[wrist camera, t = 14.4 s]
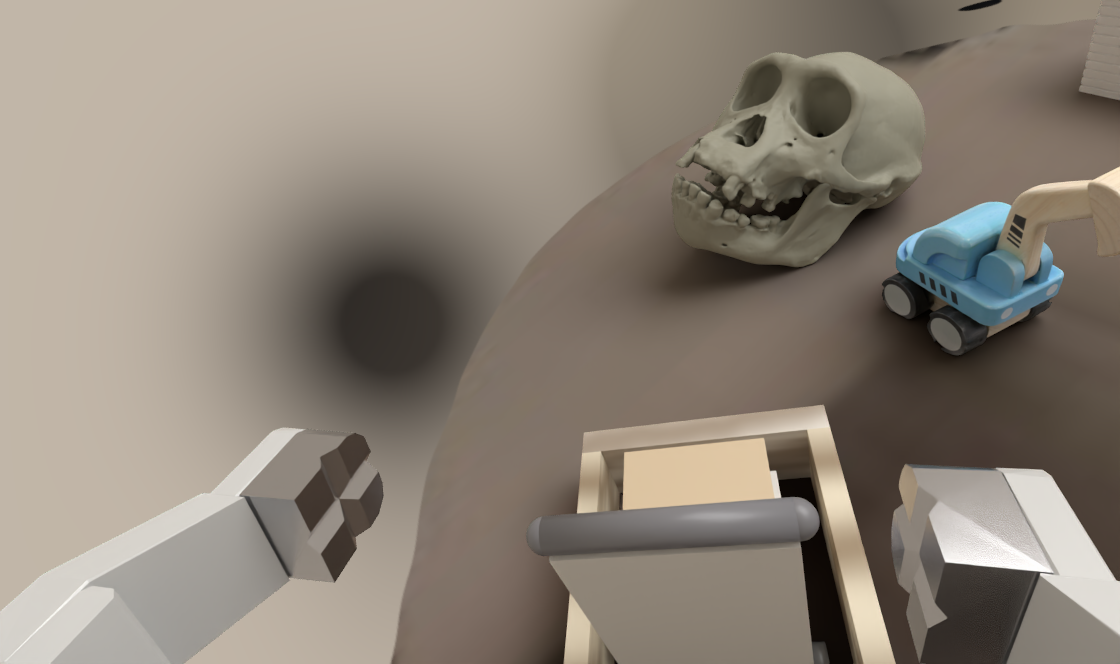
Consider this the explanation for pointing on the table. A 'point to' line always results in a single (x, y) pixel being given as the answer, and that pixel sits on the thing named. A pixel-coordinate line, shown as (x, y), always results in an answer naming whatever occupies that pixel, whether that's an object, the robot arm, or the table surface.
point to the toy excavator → (996, 260)
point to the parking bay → (792, 452)
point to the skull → (800, 157)
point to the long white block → (1104, 54)
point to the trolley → (691, 560)
